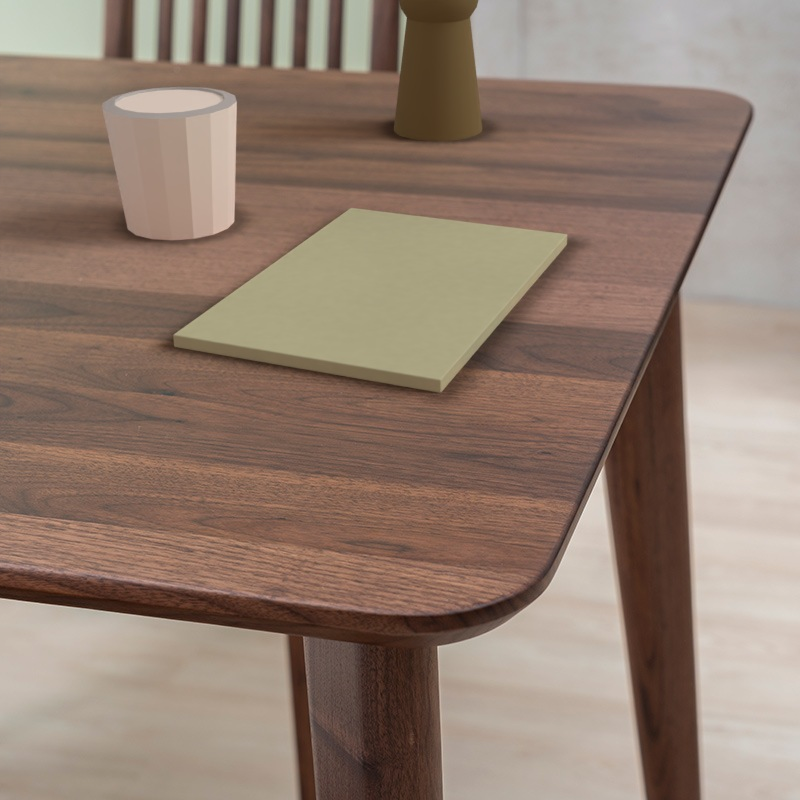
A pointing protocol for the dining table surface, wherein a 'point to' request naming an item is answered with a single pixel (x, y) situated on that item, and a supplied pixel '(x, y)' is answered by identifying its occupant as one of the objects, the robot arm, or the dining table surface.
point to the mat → (379, 298)
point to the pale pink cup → (174, 160)
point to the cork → (438, 72)
